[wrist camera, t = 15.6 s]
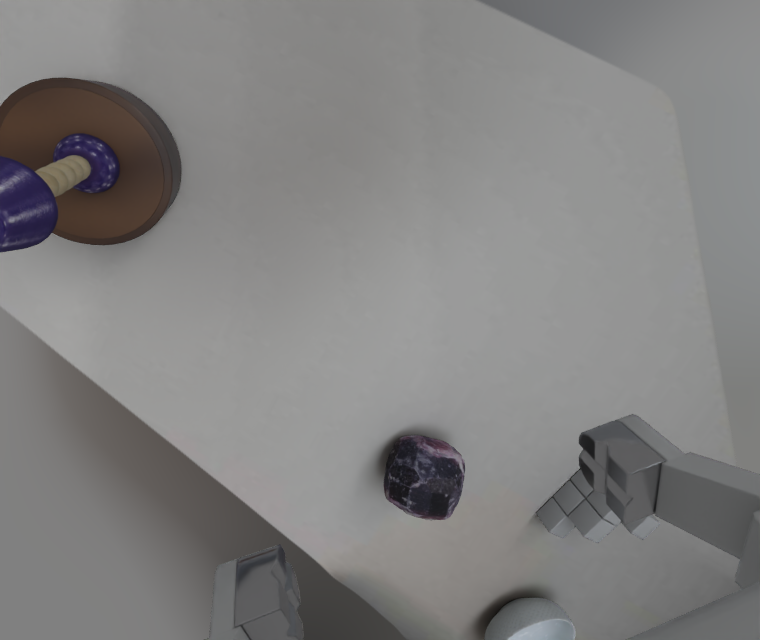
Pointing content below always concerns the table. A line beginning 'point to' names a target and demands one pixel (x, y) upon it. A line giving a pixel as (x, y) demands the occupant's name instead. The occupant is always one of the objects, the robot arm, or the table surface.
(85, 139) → the toy lamp
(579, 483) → the grey stepped block
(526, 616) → the cereal bowl
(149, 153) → the wooden drum
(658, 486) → the robot arm
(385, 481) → the mineral specimen
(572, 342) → the table surface
